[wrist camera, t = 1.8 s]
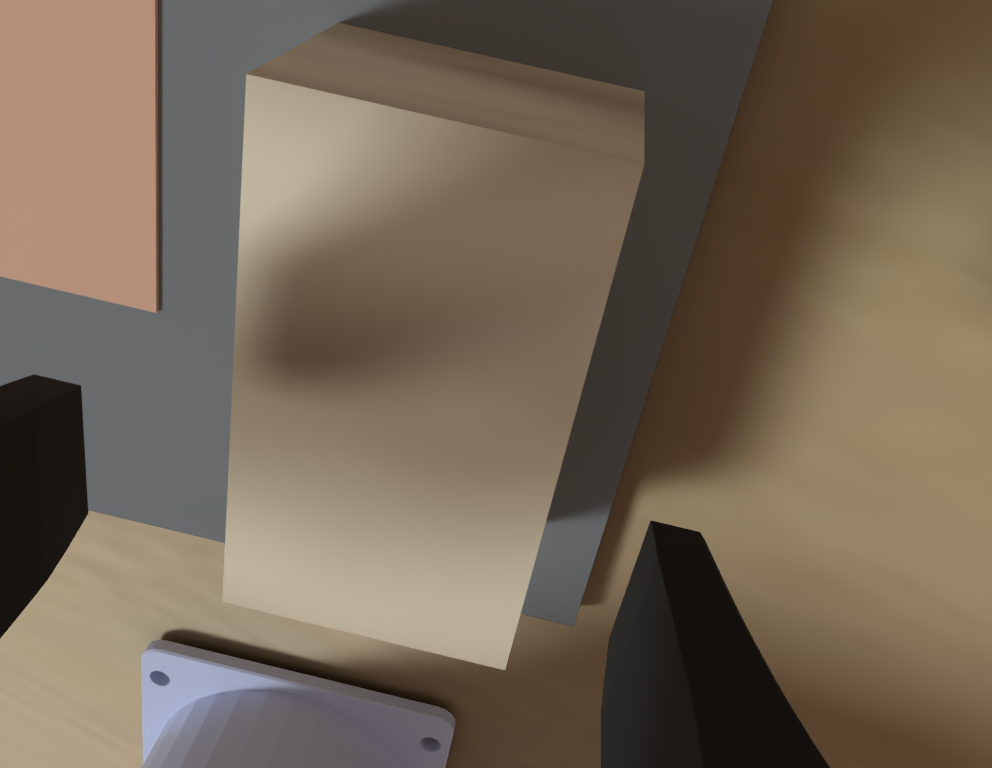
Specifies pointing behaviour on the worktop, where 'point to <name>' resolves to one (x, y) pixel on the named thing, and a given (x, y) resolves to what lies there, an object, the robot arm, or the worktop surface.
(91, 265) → the mat
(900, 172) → the worktop surface
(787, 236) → the worktop surface
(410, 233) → the card box
